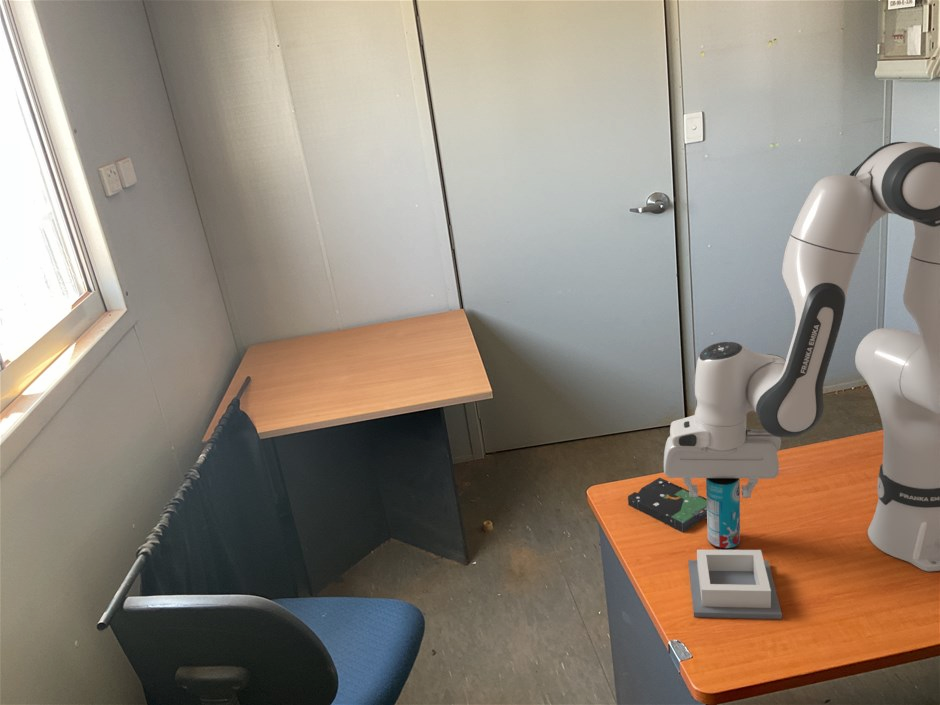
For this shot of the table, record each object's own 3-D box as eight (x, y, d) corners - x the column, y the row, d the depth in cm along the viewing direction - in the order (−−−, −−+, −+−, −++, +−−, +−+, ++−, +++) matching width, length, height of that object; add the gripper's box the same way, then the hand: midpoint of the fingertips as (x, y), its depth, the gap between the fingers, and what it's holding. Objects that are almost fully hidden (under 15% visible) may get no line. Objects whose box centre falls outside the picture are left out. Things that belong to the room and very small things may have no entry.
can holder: (768, 565, 140) (768, 544, 138) (781, 619, 127) (782, 597, 125) (688, 564, 143) (687, 544, 141) (694, 617, 130) (693, 595, 129)
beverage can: (736, 554, 144) (736, 485, 138) (704, 547, 147) (702, 480, 141) (742, 535, 148) (742, 468, 143) (711, 530, 151) (709, 464, 146)
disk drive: (627, 507, 163) (683, 535, 152) (626, 496, 162) (683, 523, 151) (659, 487, 169) (716, 512, 157) (659, 476, 168) (716, 500, 156)
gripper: (778, 421, 139) (775, 487, 144) (662, 422, 144) (663, 486, 149) (784, 438, 134) (781, 506, 139) (663, 438, 138) (664, 504, 143)
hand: (719, 495), depth 144 cm, fingers open, 8 cm apart
